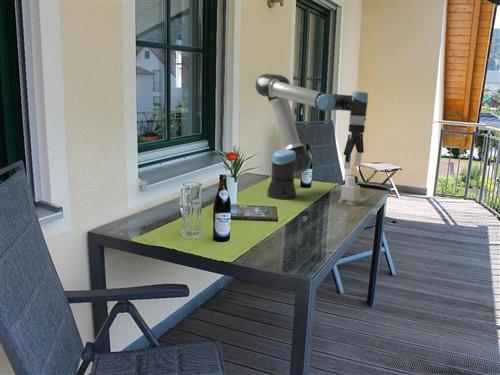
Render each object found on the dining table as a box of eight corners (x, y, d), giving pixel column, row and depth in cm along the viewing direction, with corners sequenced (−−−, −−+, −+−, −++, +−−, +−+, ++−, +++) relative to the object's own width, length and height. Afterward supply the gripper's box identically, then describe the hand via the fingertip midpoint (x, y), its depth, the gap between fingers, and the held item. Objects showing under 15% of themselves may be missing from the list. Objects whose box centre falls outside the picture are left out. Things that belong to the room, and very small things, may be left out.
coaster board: (337, 202, 247) (338, 199, 247) (352, 196, 264) (353, 192, 264) (354, 205, 243) (355, 202, 242) (369, 198, 259) (369, 195, 259)
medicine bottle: (346, 196, 253) (348, 173, 250) (359, 199, 249) (361, 176, 246) (340, 199, 247) (342, 175, 245) (353, 201, 243) (355, 177, 241)
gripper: (354, 126, 228) (349, 171, 232) (373, 123, 248) (368, 165, 253) (339, 124, 232) (335, 168, 236) (359, 122, 252) (354, 163, 257)
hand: (352, 167), depth 245 cm, fingers open, 13 cm apart
